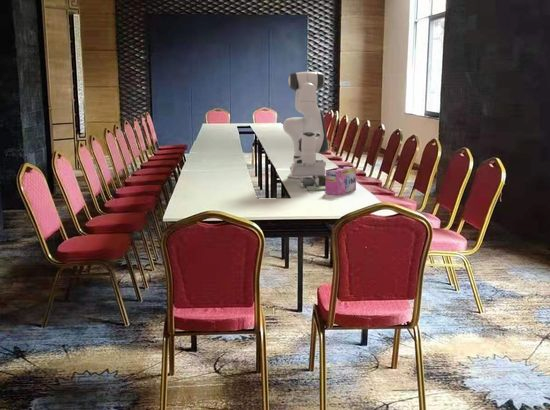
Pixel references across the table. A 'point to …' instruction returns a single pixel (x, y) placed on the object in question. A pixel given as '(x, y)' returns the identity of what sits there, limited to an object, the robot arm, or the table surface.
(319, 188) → the post board
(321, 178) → the handheld radio
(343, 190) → the gum box
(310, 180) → the collar
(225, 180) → the table surface
